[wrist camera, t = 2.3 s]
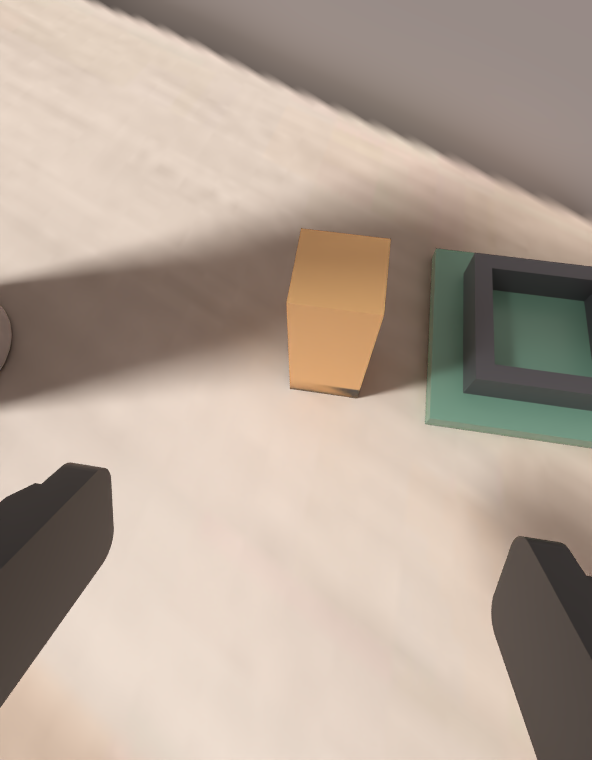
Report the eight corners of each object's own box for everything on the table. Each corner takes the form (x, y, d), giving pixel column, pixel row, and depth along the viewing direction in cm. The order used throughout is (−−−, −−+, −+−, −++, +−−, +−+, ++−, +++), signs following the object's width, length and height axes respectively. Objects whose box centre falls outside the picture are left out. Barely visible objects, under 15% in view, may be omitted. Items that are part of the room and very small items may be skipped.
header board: (425, 423, 25) (440, 405, 23) (431, 258, 30) (445, 226, 28) (643, 455, 25) (686, 440, 22) (614, 280, 29) (646, 249, 27)
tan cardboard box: (290, 388, 26) (286, 302, 18) (300, 331, 28) (301, 228, 20) (357, 398, 26) (384, 315, 18) (363, 339, 28) (390, 239, 20)
